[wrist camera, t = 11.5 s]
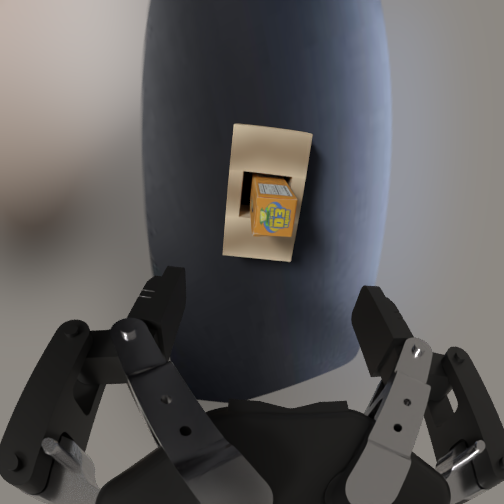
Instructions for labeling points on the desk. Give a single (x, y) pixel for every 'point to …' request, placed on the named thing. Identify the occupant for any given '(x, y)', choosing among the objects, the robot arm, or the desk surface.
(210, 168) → the desk surface
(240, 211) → the socket block
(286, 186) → the supplement box
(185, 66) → the desk surface
